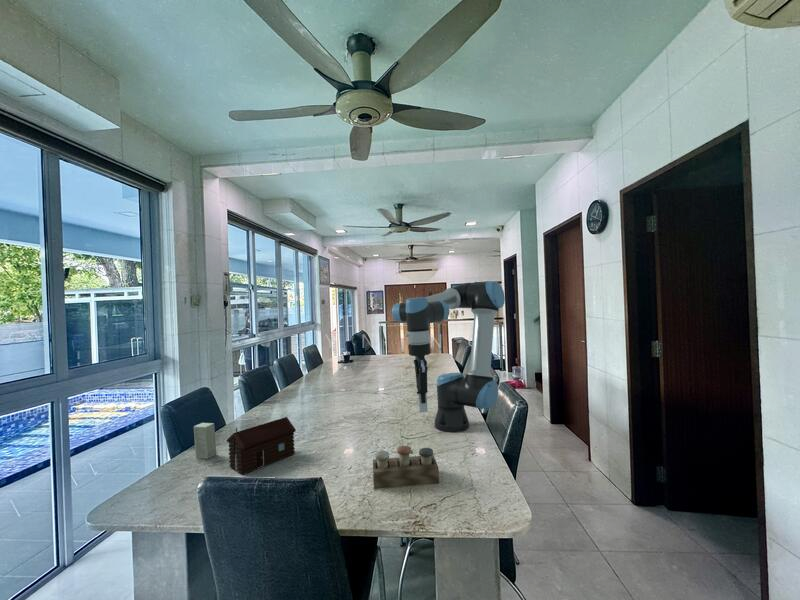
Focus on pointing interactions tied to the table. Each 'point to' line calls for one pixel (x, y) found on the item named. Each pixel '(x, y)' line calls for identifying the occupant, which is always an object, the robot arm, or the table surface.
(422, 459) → the plug charcoal
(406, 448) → the plug terracotta
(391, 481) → the socket block
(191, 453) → the table surface
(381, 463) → the plug cream
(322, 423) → the table surface
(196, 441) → the skincare box
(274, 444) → the model building
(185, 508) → the table surface
